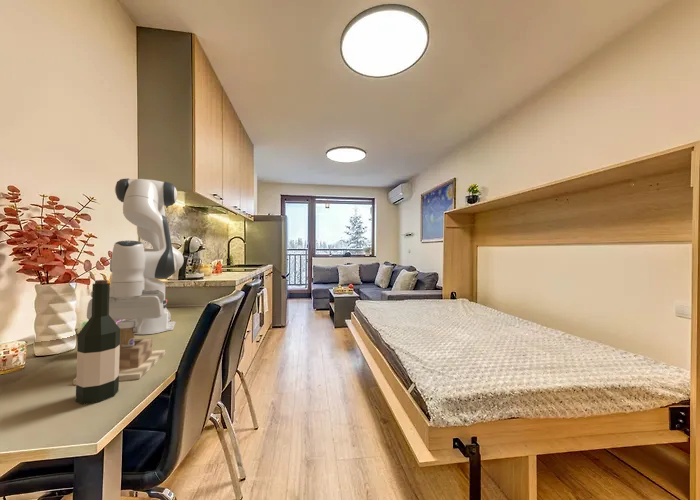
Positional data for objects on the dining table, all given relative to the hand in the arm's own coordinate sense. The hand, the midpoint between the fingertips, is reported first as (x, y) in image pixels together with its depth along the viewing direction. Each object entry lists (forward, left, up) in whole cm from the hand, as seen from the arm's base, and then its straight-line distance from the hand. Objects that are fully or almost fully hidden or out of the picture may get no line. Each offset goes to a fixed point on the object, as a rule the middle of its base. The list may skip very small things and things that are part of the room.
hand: (126, 332), depth 93 cm
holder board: (0, 0, -11) cm, 11 cm away
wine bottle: (+20, +2, -11) cm, 23 cm away
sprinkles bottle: (0, 0, -10) cm, 10 cm away
